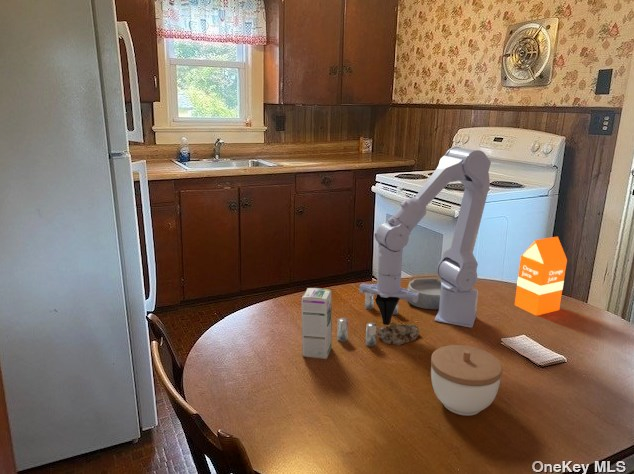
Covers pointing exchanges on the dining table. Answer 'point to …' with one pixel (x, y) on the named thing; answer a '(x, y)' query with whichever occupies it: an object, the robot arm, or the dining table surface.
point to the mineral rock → (398, 333)
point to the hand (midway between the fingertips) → (386, 323)
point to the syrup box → (316, 323)
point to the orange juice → (541, 277)
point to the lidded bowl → (465, 378)
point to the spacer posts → (370, 327)
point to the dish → (426, 292)
